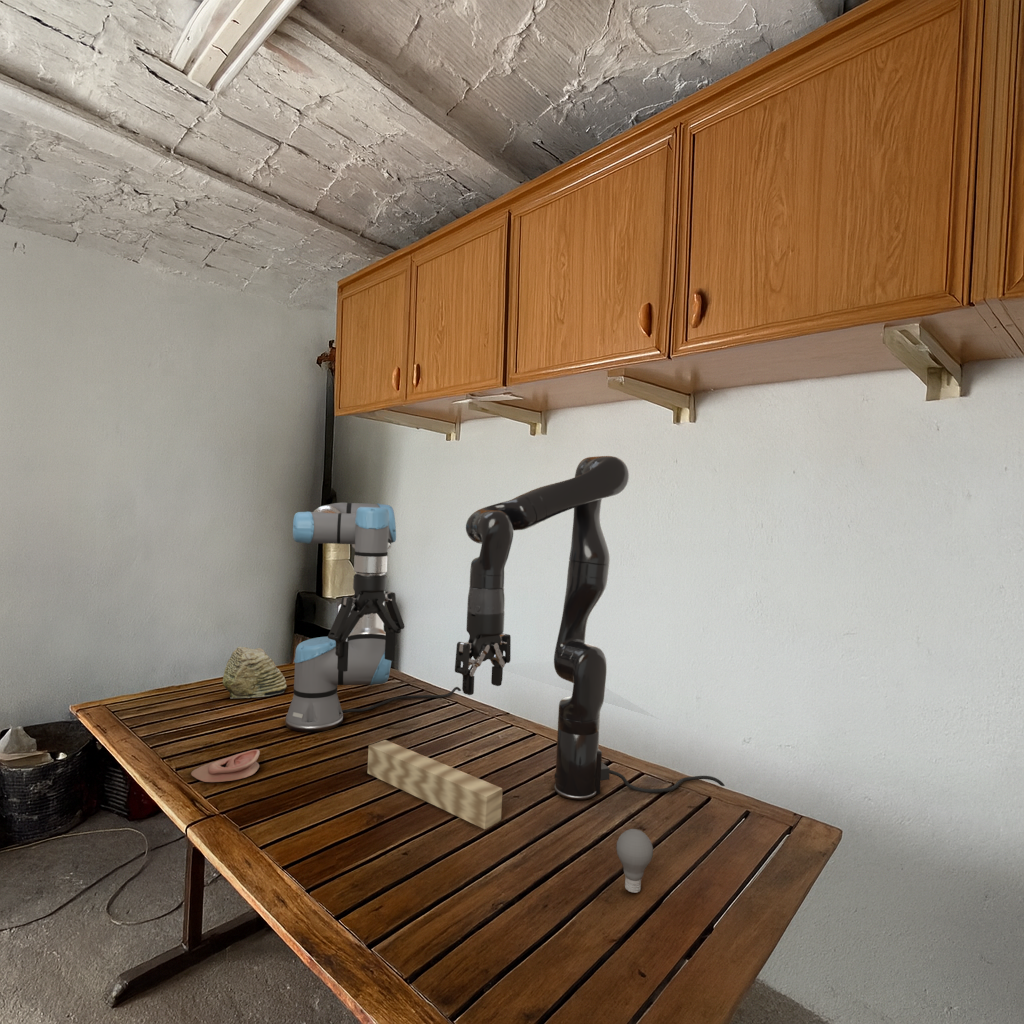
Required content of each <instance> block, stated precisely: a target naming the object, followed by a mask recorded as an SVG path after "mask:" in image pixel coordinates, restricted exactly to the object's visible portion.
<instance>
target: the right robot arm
mask: <svg viewBox="0 0 1024 1024" xmlns="http://www.w3.org/2000/svg"><path fill="white" fill-rule="evenodd" d="M629 479H630V472H629V468H628V466H627V464H626V463H625V461H623V460H622V459H621V458H619V457H617V456H612V455H600V456H599V455H597V456H587V457H585V458H583V459H582V460H580V462H579V463H578V465H577V467H576V469H575V473H574V477H571V478H569V479H566V480H561V481H559V482H555V483H550V484H547V485H543V486H540V487H536V488H534V489H531V490H529V491H526V492H525V493H522V494H519V495H518V496H516V497H514V498H511V499H509V500H506V501H502V502H498V503H494V504H492V505H488V506H485V507H481V508H479V509H477V510H475V511H473V513H472V514H471V515H470V516H469V517H468V518H467V521H466V524H465V532H466V535H467V537H468V538H469V539H470V540H471V541H473V542H474V543H476V544H479V545H481V546H480V551H479V556H478V557H477V556H476V557H474V558H473V559H472V560H471V562H470V568H469V569H470V571H469V589H468V594H467V607H466V609H467V610H466V627H465V628H466V632H467V633H468V635H469V636H468V637H469V638H468V640H467V641H466V642H464V641H458V642H457V643H456V650H455V662H454V673H457V674H460V675H462V684H461V691H462V693H463V694H464V695H467V696H472V695H473V694H474V693H475V692H474V691H475V673H476V671H477V669H478V668H479V667H481V665H482V663H483V662H486V661H488V660H489V661H490V663H491V664H492V666H491V676H490V677H491V678H490V679H491V681H490V683H491V685H493V686H495V687H500V686H502V683H503V673H504V672H503V671H504V667H505V666H506V664H510V663H511V648H512V647H511V646H512V645H511V643H512V642H511V640H512V639H511V638H512V637H511V635H510V634H509V633H504V632H505V615H506V613H505V611H506V592H505V585H506V584H505V583H506V582H505V580H506V566H507V563H508V559H509V557H510V552H511V549H512V545H513V541H514V536H515V535H514V534H515V533H514V532H515V531H525V530H528V529H530V528H532V527H535V526H537V525H539V524H542V523H544V522H546V521H548V520H550V519H552V518H554V517H556V516H558V515H560V514H563V513H566V512H567V511H569V510H573V519H572V520H573V521H572V529H571V530H572V532H571V541H570V550H569V551H570V552H569V557H568V565H567V574H566V588H565V592H564V593H565V594H564V600H563V601H564V602H563V609H562V614H561V615H562V616H561V621H560V625H559V630H558V635H557V639H556V644H555V649H554V655H553V667H554V670H555V671H554V672H555V674H556V675H557V676H558V677H559V678H560V679H562V680H564V681H566V682H570V683H572V684H573V687H572V694H571V695H569V696H566V697H563V698H561V699H560V700H559V702H558V713H557V715H558V717H557V738H556V756H555V757H556V758H555V772H554V791H555V793H556V794H558V795H559V796H560V797H562V798H564V799H568V800H572V801H584V800H585V801H586V800H590V799H592V798H594V797H596V795H601V782H602V781H609V780H610V775H612V776H613V775H614V776H615V777H618V778H620V779H621V780H622V782H623V783H624V785H625V786H626V787H627V788H629V789H631V790H633V791H636V792H637V791H638V792H642V793H643V792H644V793H649V794H658V793H659V794H660V793H668V792H673V791H674V790H676V789H678V787H680V785H681V784H683V783H684V782H689V781H696V780H697V781H699V780H708V781H713V782H715V783H717V784H718V785H719V786H721V787H725V786H726V785H725V784H724V783H723V781H721V780H720V779H719V778H718V777H714V776H711V775H694V776H687V777H683V778H680V779H679V780H678V781H676V783H675V784H674V785H672V786H670V787H662V788H642V787H638V786H634V785H632V784H631V783H630V782H629V781H628V780H627V778H626V777H625V775H623V774H621V773H620V772H618V771H615V770H612V769H611V768H610V766H609V767H608V766H607V765H606V764H605V763H604V762H603V761H602V759H603V752H602V750H601V749H599V747H600V746H599V743H600V725H601V724H600V722H601V721H600V720H601V710H602V707H603V705H604V701H605V697H606V696H605V695H606V685H607V676H608V675H607V674H608V662H607V657H606V653H605V652H604V651H603V649H602V648H600V647H598V646H596V645H593V644H590V643H587V642H586V635H587V629H588V628H587V627H588V622H589V619H590V616H591V615H592V613H593V611H594V609H595V608H596V606H597V605H598V603H599V602H600V600H601V599H602V597H603V596H604V595H605V592H606V589H607V588H608V583H609V575H610V565H611V553H610V548H609V545H608V541H607V539H606V536H605V533H604V529H603V526H602V522H601V509H602V501H603V499H607V498H611V497H616V496H618V495H621V493H623V492H624V490H625V489H626V488H627V486H628V483H629Z"/></svg>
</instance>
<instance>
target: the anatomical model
mask: <svg viewBox="0 0 1024 1024" xmlns="http://www.w3.org/2000/svg"><path fill="white" fill-rule="evenodd" d="M260 754H261V752H260V749H257V748H256V749H251V750H247V751H243V752H240V753H236V754H234V755H231V756H228V757H225V758H222V759H219V760H216V761H211V762H209V763H206V764H204V765H201V766H198V767H197V768H195V769H193V770H192V771H191V773H190V775H191V776H192V777H193V778H194V779H196V780H198V781H201V782H203V783H221V782H230V781H231V782H233V781H237V780H241V779H246V778H248V777H250V776H253V775H254V774H256V772H257V771H258V770H259V768H260V764H259V762H258V759H259V757H260Z"/></svg>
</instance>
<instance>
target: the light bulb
mask: <svg viewBox="0 0 1024 1024" xmlns="http://www.w3.org/2000/svg"><path fill="white" fill-rule="evenodd" d="M615 849H616V854H617V857H618V859H619V861H620V863H621V865H622V867H623V873H624V874H623V875H624V876H625V878H624V888H625V890H627V891H628V892H630V893H634V894H635V893H639V892H640V891H641V889H642V887H641V886H642V879H643V877H644V875H645V871H646V868H647V867H648V866H649V864H650V863H651V861H652V859H653V855H654V847H653V843H652V841H651V838H649V836H648V835H647V834H646V833H645V832H643V831H642V830H641V829H636V828H629V829H627V830H625V831H623V832H622V833H621V834H620V835H619V837H618V839H617V841H616V847H615Z"/></svg>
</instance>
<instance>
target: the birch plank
mask: <svg viewBox="0 0 1024 1024" xmlns="http://www.w3.org/2000/svg"><path fill="white" fill-rule="evenodd" d="M367 753H368V754H367V775H370V776H372V777H374V778H376V779H378V780H381V781H382V782H384V783H387V784H388V785H390V786H393V787H394V788H397V789H399V790H401V791H403V792H406V793H408V794H409V795H411V796H414V797H416V798H418V799H420V800H422V801H424V802H426V803H428V804H430V805H433V806H434V807H437V808H439V809H441V810H443V811H445V812H447V813H449V814H451V815H454V816H455V817H457V818H460V819H462V820H463V821H465V822H468V823H470V824H472V825H475V826H476V827H478V828H480V829H483V830H487V829H489V828H491V827H492V826H494V825H496V824H498V823H499V822H501V821H502V811H503V810H502V809H503V788H502V787H500V786H498V785H495V784H493V783H491V782H488V781H486V780H483V779H481V778H479V777H476V776H473V775H471V774H469V773H466V772H464V771H461V770H460V769H458V768H455V767H452V766H450V765H447V764H445V763H443V762H440V761H438V760H436V759H433V758H430V757H428V756H425V755H423V754H421V753H418V752H416V751H414V750H411V749H408V748H407V747H405V746H401V745H399V744H396V743H394V742H392V741H390V740H387V739H384V740H381V741H378V742H375V743H371V744H369V745H368V750H367Z"/></svg>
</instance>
